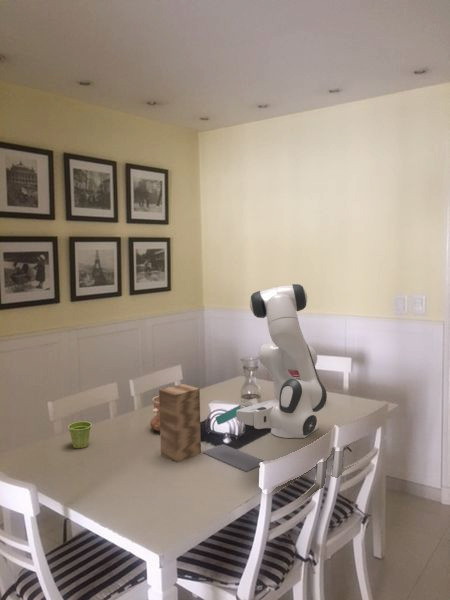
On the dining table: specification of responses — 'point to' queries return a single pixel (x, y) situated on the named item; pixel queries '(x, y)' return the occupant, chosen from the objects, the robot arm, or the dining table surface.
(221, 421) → the block
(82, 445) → the plant pot
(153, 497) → the dining table surface
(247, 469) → the mat
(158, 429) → the ceramic jug
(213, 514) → the dining table surface
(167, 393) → the tall stand
